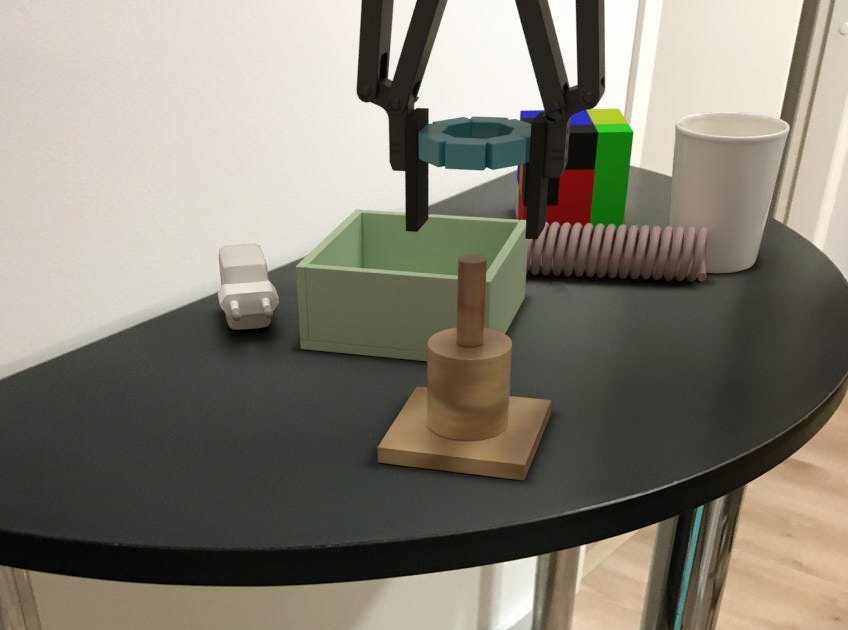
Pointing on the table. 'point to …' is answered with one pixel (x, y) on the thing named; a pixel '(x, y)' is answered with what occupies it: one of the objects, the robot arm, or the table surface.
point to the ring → (475, 143)
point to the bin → (404, 281)
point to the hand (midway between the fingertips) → (475, 228)
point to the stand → (468, 398)
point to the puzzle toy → (586, 171)
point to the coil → (619, 251)
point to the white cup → (726, 182)
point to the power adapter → (246, 287)
